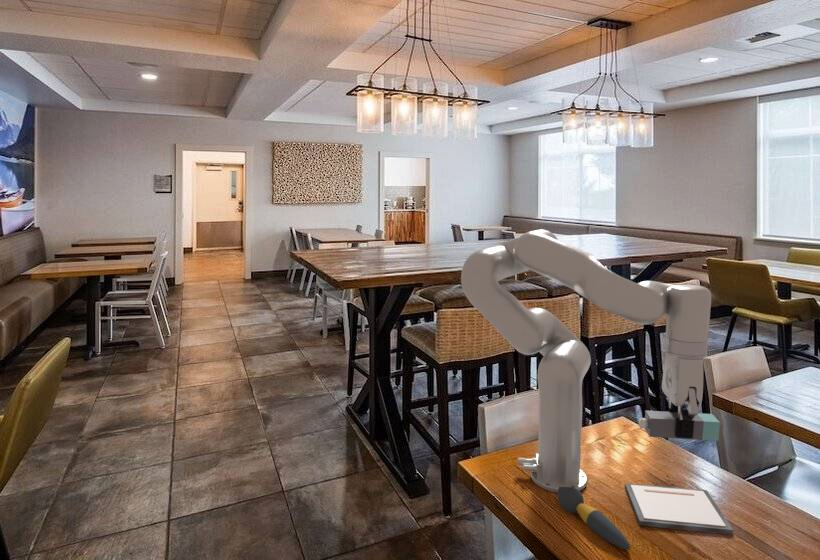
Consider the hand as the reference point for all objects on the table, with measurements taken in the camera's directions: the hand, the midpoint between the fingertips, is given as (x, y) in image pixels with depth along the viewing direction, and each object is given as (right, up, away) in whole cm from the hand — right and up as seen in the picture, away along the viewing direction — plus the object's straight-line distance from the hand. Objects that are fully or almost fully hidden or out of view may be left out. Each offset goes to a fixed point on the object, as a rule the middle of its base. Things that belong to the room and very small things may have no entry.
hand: (679, 431), depth 106 cm
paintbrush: (-19, -19, -2) cm, 27 cm away
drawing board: (0, -17, +2) cm, 17 cm away
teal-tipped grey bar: (0, -1, 0) cm, 1 cm away
